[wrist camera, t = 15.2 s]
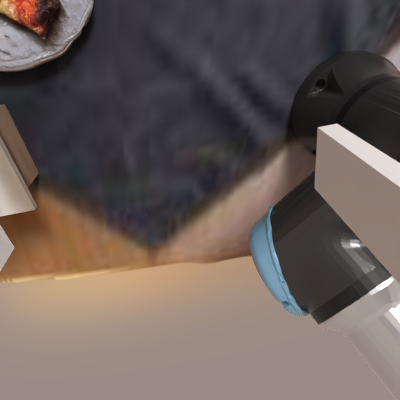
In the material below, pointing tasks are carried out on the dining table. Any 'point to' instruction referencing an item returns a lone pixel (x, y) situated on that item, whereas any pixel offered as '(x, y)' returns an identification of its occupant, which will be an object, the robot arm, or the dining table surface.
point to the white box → (14, 169)
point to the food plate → (39, 31)
